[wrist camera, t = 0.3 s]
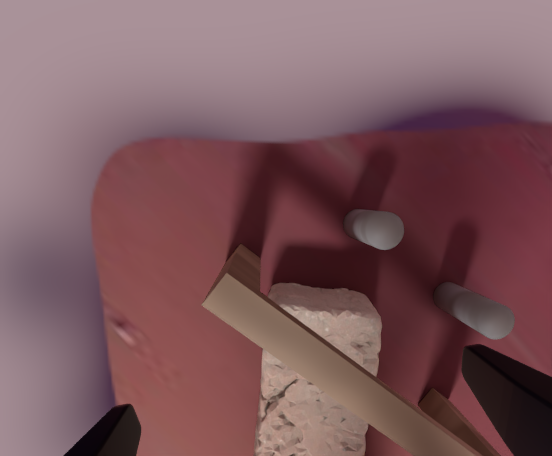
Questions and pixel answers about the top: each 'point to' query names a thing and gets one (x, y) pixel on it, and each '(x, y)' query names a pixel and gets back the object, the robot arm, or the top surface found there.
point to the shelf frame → (346, 372)
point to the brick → (303, 394)
